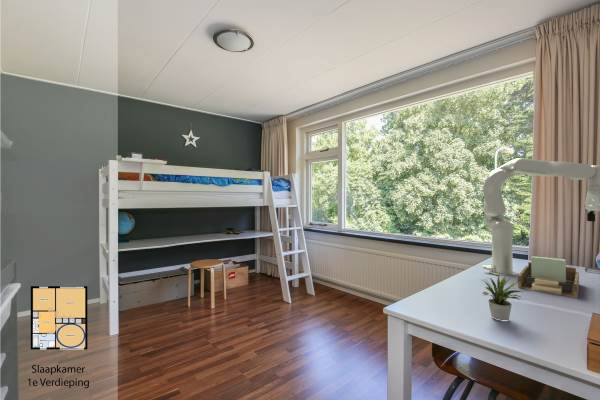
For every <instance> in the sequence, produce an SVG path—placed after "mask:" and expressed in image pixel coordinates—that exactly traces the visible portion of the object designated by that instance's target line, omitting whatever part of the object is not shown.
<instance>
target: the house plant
mask: <svg viewBox="0 0 600 400" xmlns="http://www.w3.org/2000/svg"><path fill="white" fill-rule="evenodd" d="M487 279H489V280H490V282H491V283H492V285H491V284H490V283H489V282H488V280H487ZM487 279H482V282H484V283H485V284H486V285H487V286H485V287H484V288H485V289H486V290H488V291H489V292H490V293H489V292H487V291H483V292H482V293H481V294H482V295H483V296H489V297H491V298H490V299H488V306H489V310H490V311H489V312H490V316H491V318H492V317H494V318H496V319H500V320H509V321H510V317H511V315H510V314H511V310H512V302H510V301H508V300H510V299H515V300H516V299H517V300H519V301H521V300H520V299H522V296H520V295H518V294H513V293H523V291H522V290H512V288H514V289H517V288H518V287H519V286H518V283H520V282H518V281H517V282H514V283H512V284H510V285H509V286H508V287H506V288H505V285H506V284H507V283H508V282H509V281H510V280H511V279H512V277H510V278H508V279H507V280H506V277H505V276H504V277H502V279H501V280H500V275H497V281H496V282H495V281H494V279H493V278H491V277H487ZM496 283H497V284H496ZM492 286H493V287H492ZM516 287H517V288H516ZM504 288H505V289H504ZM522 300H523V299H522Z"/></svg>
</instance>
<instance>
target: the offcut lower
mask: <svg viewBox="0 0 600 400" xmlns="http://www.w3.org/2000/svg"><path fill="white" fill-rule="evenodd" d="M532 290H535V291H534V292H537V291H540V292H539V293H543V292H546V293H545V294H549V293H552V294H551V295H554V294H558V295H557V296H560V295H562V286H559V288H558V289H557V288H551V287H545V286H538V285H535V282H533V284H532Z"/></svg>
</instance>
